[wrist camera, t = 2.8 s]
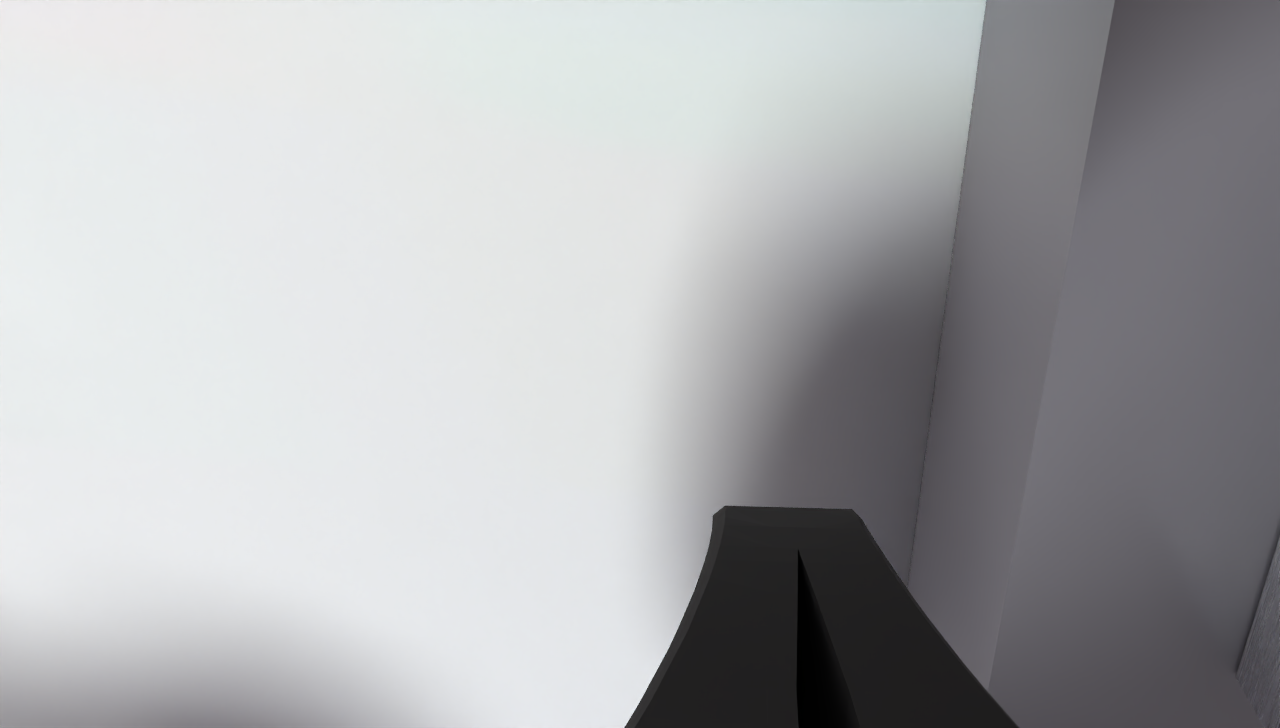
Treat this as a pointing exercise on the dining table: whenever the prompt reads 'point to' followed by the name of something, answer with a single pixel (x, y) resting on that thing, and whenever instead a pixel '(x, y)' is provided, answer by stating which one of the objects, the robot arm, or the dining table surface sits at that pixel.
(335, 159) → the dining table surface
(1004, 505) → the socket block
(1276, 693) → the clip
